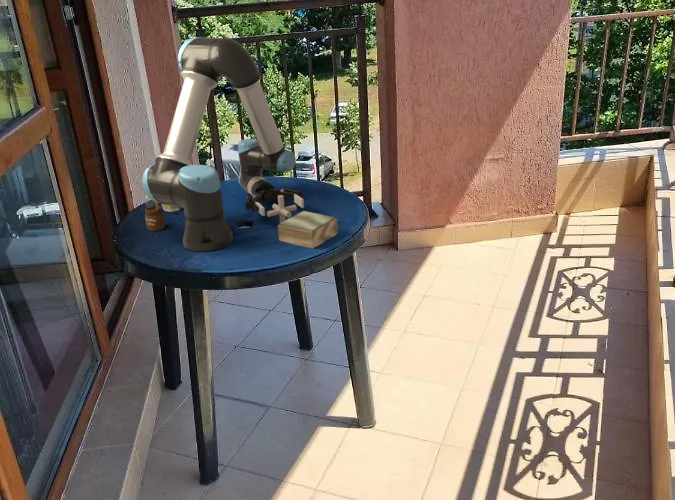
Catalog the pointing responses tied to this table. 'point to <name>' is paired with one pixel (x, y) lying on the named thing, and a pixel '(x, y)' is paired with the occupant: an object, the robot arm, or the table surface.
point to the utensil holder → (154, 217)
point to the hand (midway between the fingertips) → (283, 207)
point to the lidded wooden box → (307, 229)
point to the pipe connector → (281, 209)
